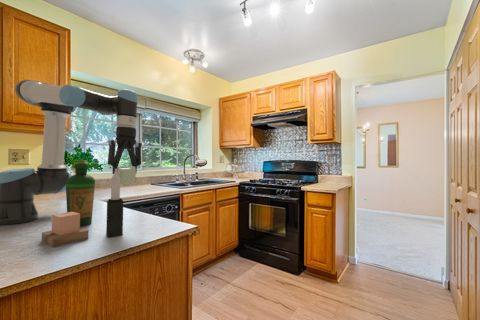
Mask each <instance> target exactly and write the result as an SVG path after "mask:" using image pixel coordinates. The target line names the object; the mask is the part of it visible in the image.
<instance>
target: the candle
mask: <svg viewBox="0 0 480 320" xmlns="http://www.w3.org/2000/svg"><path fill="white" fill-rule="evenodd" d="M110 183H111V185H110V187H111V188H110V198H109V199H108V200H107V202H106V232H105V234H106V237H107V238H116V237H120V236H122V235H124V234H123V230H124V200H123V198H122V197H121V195H120V194H121V184H120V177H119V175H118V172H117V169H115V172H114V174H112V176H111V182H110Z"/></svg>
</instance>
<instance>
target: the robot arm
mask: <svg viewBox="0 0 480 320" xmlns="http://www.w3.org/2000/svg"><path fill="white" fill-rule="evenodd" d="M14 92H15V94H16V96H17V98H18V99H19V100H21V101H23V102H24V103H25V104H28V105H31V106H35V107H38V108H39V107H40V112H41V113H42V114H43V115H44V120H43V121H44V124H43V125H44V126H43V137H42V138H43V139H42V151H41V152H42V153H41V156H42V157H41V164H39V165H38V166H36V169H37V170H35V168H32V167H25V168H24V167H23V168H15V169H14V168H13V169H7V170H3V171H0V226H7V225H14V224H15V225H18V224H22V223H28V222H31V221H32V222H33V221H35V220H37V219H38V218H39V213H38V212H39V211H38V210H37V207H36V205H35V202H34V198H35V197H34V196H40V195H49V194H58V193H65V192H66V181H67V180H68V178H70V177H71V176H73V175H72V173H71V172H70V171H69V170H68V167H67V166H66V165H65V149H66V137H67V136H66V134H67V120H68V118H69V117H70V116H71V115H72V113H74V112H75V111H76V109H77V108H78V109H84V110H87V111H88V110H89V111H92V112H96V113H98V114H100V115H102V116H111V115H113V116H114V115H116V123H115V125H116V129H115V136H116V137H115V139H111V140H108V141H107V142H108V146H109V147H108V155H107V164H108V165H109V166H111V167H112V175H114V172H115V169H117V172H118V175H119V177H120V168H121V166H119V164H120V162H121V161H120V160H121V158H122V156H123V153H124V151H125V150H126V151H127V152H128V156H129V160H130V164H131V166H129V168H131V169H136V174H137V169H138V168H137V167H139V166H141V165H142V147H143V144H142V142H138V141H137V140H136V137H137V129H136V127H137V114H138V113H137V112H138V111H137V109H138V94H137V93H136V92H135V91H134V90H130V89H127V88H123V89H122V88H120V89H118V90H117V94H116V96H110V95H109V96H108V95H105V94H101V93H98V92H94V91H92V90H91V91H90V90H88V89H85V88H82V87H80V86H77V85H72V84H65V85H54V84H48V83H45V82H43V81H39V80H34V79H22V80H20V81H18V82H17V83H16V85H15V87H14ZM116 145H117V147H116Z"/></svg>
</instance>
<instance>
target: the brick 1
mask: <svg viewBox="0 0 480 320" xmlns="http://www.w3.org/2000/svg"><path fill="white" fill-rule="evenodd" d="M51 216H52V217H51V230H52V232H53V233H55V234H57V235H63V234H67V233H72V232H76V231H80V227H81V226H80V214H79V213H76V212H67V211H66V212H59V213H54V214H52V215H51Z"/></svg>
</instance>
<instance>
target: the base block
mask: <svg viewBox="0 0 480 320" xmlns="http://www.w3.org/2000/svg"><path fill="white" fill-rule="evenodd" d="M89 232H90V231H89V229H86V228H84V227H82V226H80V231H76V232H72V233H67V234H63V235H57V234H55V233H53V232H52V229H51V230H47V231H42V232H41V242H42V241H43V242H42V243H44V244H46V245H48V246H50V247H52V248H57V247H62V246H64V245H68V244H72V243H73V244H74V243H76V242H80V241H84V240H89Z"/></svg>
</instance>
